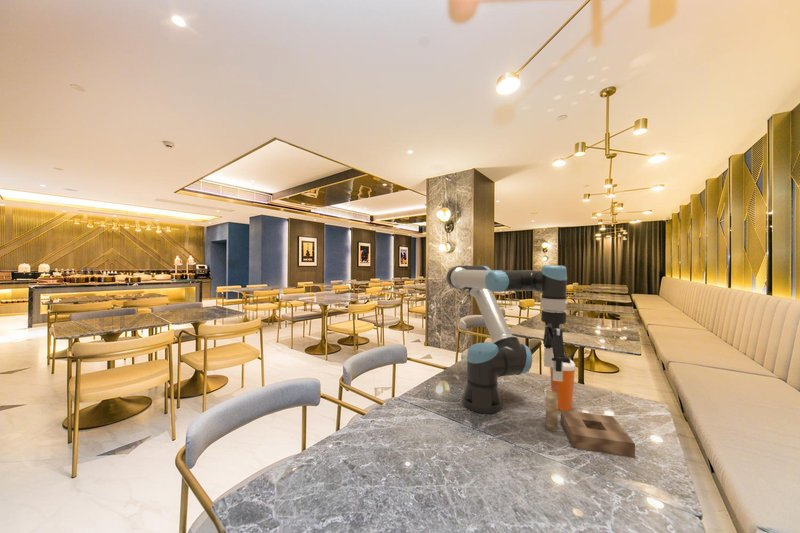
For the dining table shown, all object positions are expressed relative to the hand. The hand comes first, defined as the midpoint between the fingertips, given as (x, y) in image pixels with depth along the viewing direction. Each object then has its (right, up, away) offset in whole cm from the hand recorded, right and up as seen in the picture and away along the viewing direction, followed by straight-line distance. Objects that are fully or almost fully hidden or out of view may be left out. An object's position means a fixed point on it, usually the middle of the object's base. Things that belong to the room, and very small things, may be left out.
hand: (552, 373), depth 102 cm
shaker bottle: (+11, -19, +15) cm, 27 cm away
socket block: (+11, -19, -5) cm, 22 cm away
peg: (0, -19, 0) cm, 19 cm away
